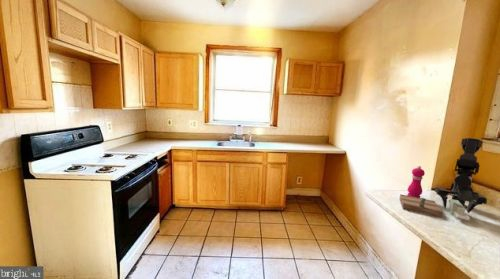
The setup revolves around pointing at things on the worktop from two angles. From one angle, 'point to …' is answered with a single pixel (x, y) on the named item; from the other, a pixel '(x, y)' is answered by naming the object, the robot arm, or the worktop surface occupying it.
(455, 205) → the light grey piece
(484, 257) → the worktop surface
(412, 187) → the pepper mill
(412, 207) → the brown open rectangular box
